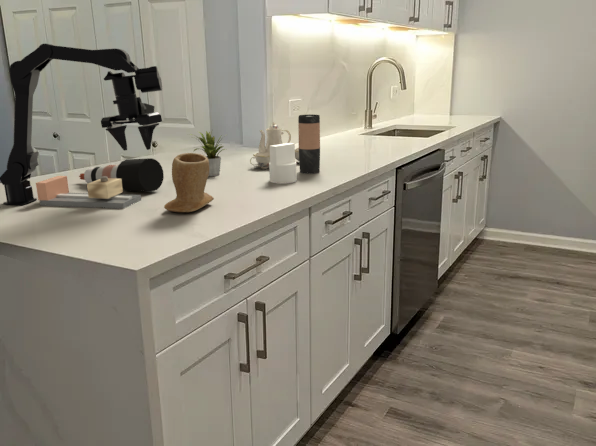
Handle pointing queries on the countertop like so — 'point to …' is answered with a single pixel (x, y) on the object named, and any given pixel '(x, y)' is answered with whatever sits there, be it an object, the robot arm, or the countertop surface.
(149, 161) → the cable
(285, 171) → the base with upright slab
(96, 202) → the track
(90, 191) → the block
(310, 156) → the travel mug
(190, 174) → the stone cup
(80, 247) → the countertop surface
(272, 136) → the chinaware
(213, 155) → the house plant
